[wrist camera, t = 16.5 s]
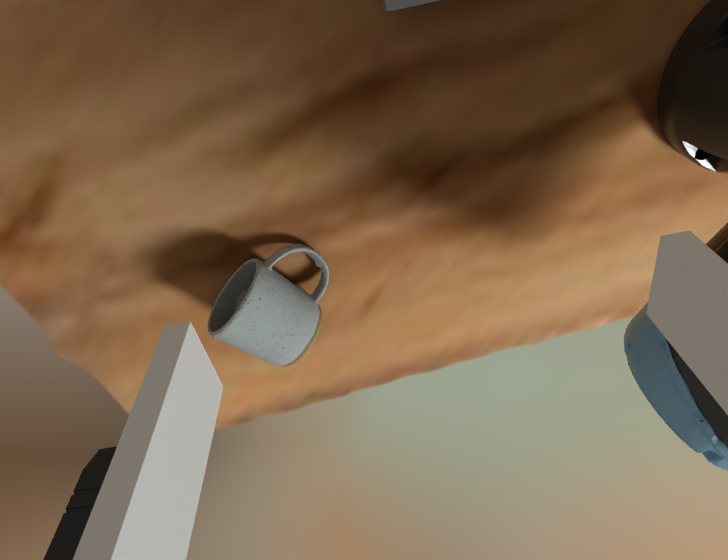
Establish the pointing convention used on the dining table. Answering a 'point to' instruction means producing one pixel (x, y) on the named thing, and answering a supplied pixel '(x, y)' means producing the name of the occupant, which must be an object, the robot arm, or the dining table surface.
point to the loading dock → (403, 3)
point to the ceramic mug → (269, 310)
